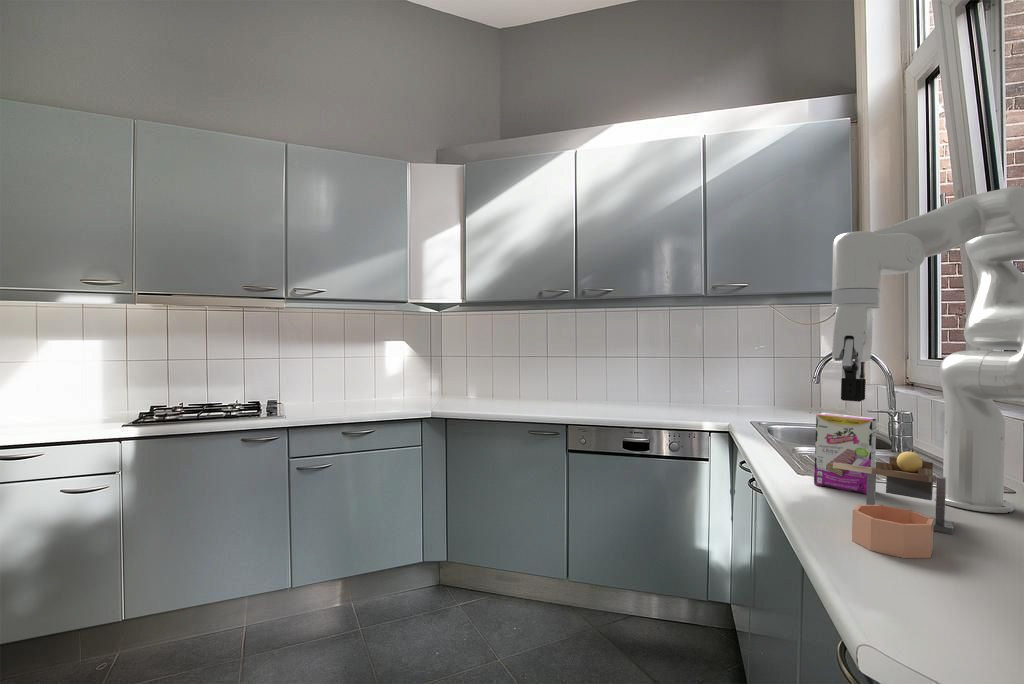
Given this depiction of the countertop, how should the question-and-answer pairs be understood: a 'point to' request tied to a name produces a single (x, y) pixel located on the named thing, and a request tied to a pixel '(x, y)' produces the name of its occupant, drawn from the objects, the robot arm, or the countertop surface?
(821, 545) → the countertop surface
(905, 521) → the salmon orange faceted bowl
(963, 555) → the countertop surface
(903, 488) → the wooden tray
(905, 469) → the ball
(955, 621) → the countertop surface
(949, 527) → the stand
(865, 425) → the candy bar box
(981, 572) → the countertop surface
